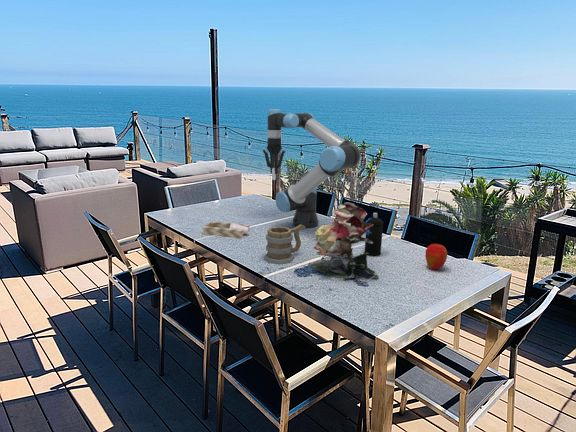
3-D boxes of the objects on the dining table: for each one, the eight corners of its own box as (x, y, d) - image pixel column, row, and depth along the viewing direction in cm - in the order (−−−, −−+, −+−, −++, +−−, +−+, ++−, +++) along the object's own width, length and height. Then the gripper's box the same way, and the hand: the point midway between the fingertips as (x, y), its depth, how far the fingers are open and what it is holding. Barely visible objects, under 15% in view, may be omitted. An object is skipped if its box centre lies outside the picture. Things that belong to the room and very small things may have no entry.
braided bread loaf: (249, 231, 240) (249, 224, 239) (241, 238, 229) (241, 231, 228) (212, 228, 246) (212, 221, 245) (203, 234, 235) (202, 227, 234)
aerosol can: (382, 251, 213) (385, 212, 207) (380, 257, 205) (383, 216, 200) (365, 249, 215) (367, 210, 210) (362, 255, 208) (365, 214, 203)
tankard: (272, 265, 193) (273, 233, 189) (261, 256, 204) (261, 225, 200) (311, 258, 202) (312, 227, 198) (298, 250, 213) (299, 220, 209)
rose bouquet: (352, 255, 208) (356, 193, 200) (385, 279, 181) (391, 208, 173) (302, 261, 199) (304, 196, 191) (328, 286, 173) (331, 213, 165)
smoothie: (249, 237, 236) (224, 233, 239) (250, 225, 237) (226, 222, 239) (246, 236, 230) (220, 232, 232) (247, 224, 231) (222, 220, 233)
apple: (442, 274, 187) (445, 247, 184) (421, 269, 191) (424, 243, 188) (447, 267, 194) (450, 241, 191) (427, 263, 199) (429, 238, 196)
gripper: (261, 137, 241) (261, 179, 247) (283, 138, 238) (283, 181, 244) (265, 136, 248) (265, 177, 254) (287, 137, 245) (286, 179, 251)
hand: (273, 179), depth 249 cm, fingers closed
